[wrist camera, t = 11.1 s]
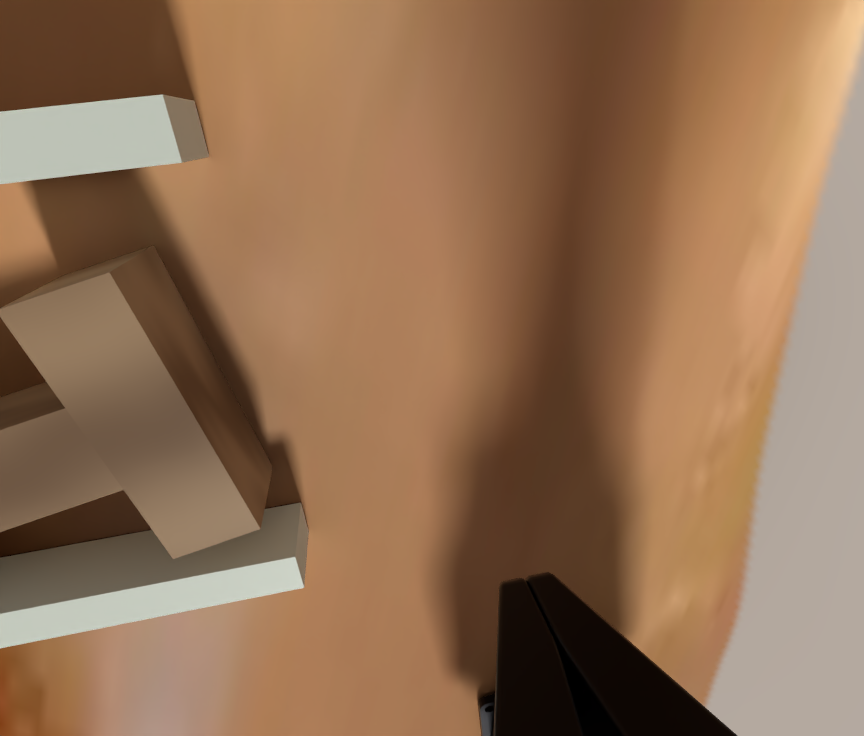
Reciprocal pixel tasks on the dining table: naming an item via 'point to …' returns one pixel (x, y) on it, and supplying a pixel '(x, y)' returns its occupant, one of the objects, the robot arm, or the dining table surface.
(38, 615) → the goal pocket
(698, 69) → the dining table surface
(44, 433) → the t block
